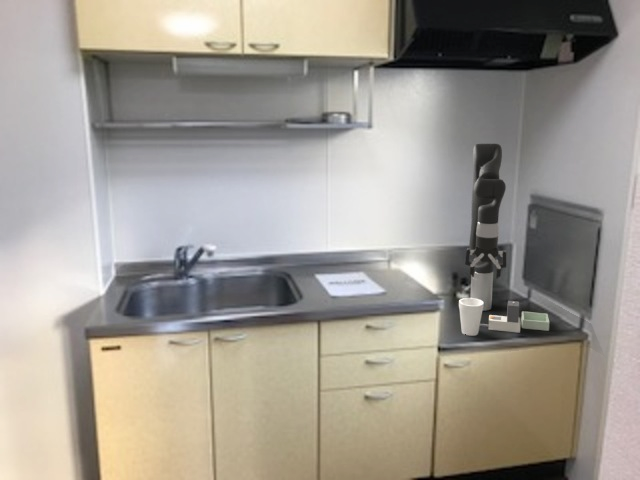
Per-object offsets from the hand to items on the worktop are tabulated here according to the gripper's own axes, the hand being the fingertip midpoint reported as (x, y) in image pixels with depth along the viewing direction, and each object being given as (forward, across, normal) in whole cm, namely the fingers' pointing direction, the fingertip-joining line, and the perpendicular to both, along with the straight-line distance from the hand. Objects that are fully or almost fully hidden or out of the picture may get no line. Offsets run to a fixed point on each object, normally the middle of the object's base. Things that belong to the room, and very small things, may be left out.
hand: (484, 277), depth 196 cm
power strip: (+27, -5, -19) cm, 34 cm away
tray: (+28, -20, -26) cm, 43 cm away
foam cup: (+28, +5, -11) cm, 30 cm away
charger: (+26, -11, -19) cm, 34 cm away
